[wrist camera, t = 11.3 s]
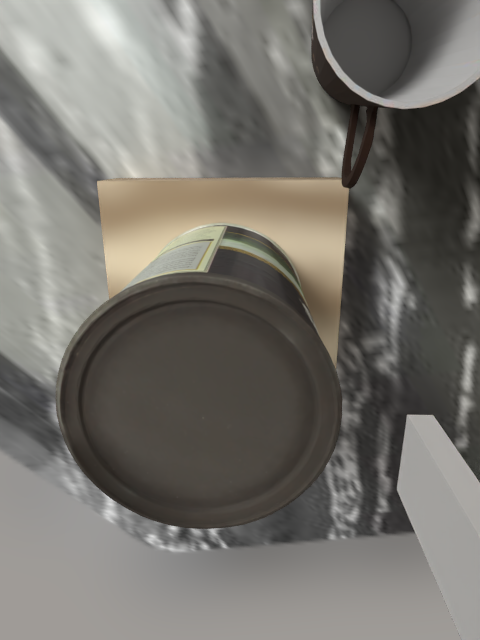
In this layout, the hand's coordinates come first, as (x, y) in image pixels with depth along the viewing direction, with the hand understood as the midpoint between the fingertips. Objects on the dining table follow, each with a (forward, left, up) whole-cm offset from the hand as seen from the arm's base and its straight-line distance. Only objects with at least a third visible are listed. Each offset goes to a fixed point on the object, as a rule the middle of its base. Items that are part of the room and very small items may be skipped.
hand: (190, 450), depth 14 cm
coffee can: (0, 0, -17) cm, 17 cm away
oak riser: (0, 0, -20) cm, 20 cm away
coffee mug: (-14, +8, -21) cm, 26 cm away
